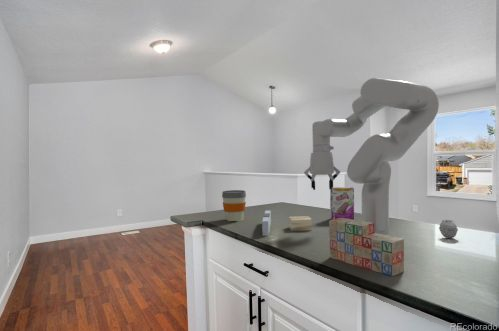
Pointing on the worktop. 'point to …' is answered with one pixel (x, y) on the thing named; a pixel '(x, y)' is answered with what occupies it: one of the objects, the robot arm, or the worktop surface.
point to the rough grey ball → (448, 228)
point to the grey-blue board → (266, 223)
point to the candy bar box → (342, 203)
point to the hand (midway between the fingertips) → (322, 189)
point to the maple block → (300, 223)
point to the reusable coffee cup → (234, 204)
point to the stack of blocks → (365, 246)
